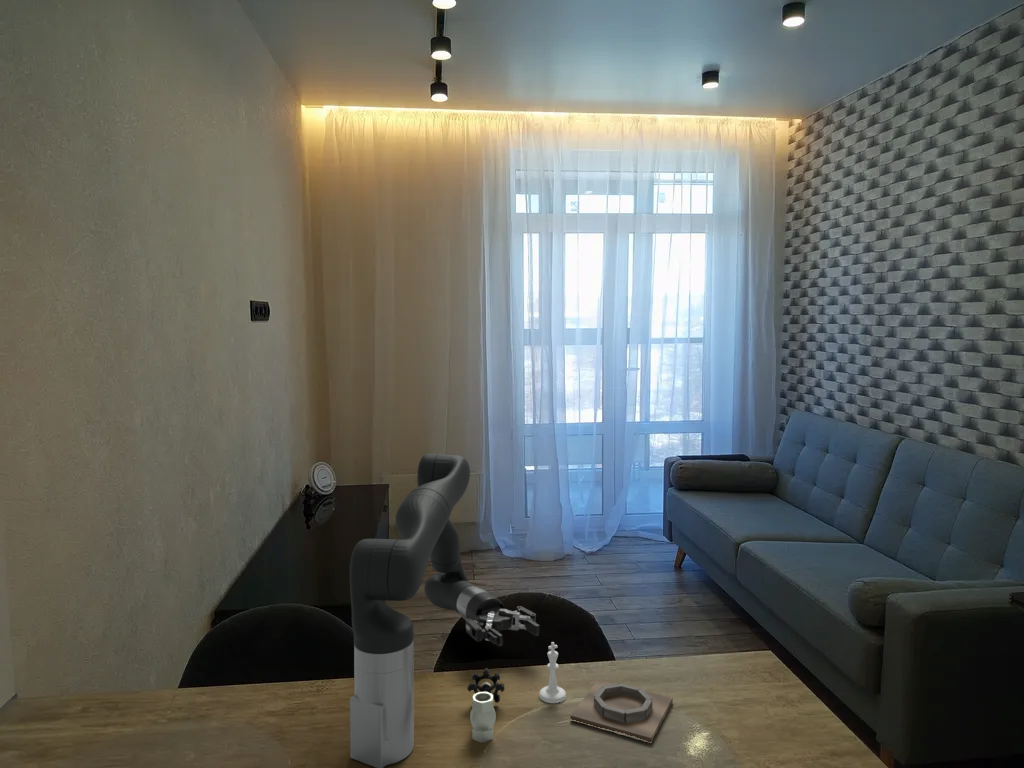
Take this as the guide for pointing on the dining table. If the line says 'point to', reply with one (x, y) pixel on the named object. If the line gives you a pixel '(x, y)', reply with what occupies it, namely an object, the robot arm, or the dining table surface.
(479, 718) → the valve
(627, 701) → the board
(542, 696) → the chess piece
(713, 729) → the dining table surface
